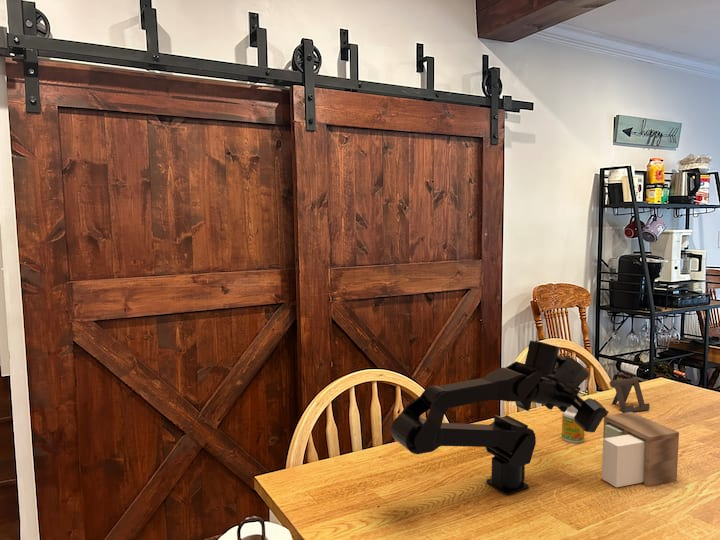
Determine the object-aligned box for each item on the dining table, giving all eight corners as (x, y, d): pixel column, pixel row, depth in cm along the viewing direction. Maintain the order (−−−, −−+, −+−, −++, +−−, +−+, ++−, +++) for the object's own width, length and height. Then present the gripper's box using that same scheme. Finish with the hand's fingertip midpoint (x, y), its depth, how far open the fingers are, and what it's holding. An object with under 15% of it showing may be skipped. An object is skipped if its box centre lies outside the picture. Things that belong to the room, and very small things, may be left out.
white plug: (616, 487, 111) (617, 446, 111) (601, 478, 115) (603, 438, 115) (660, 478, 115) (662, 438, 114) (644, 470, 119) (646, 431, 118)
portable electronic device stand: (624, 414, 154) (625, 386, 154) (605, 405, 162) (606, 378, 161) (649, 411, 157) (650, 383, 156) (629, 402, 164) (631, 376, 163)
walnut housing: (644, 487, 112) (646, 437, 111) (599, 461, 124) (600, 416, 123) (676, 480, 115) (679, 432, 114) (629, 455, 127) (631, 411, 126)
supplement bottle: (560, 441, 136) (561, 404, 135) (563, 433, 140) (564, 398, 140) (583, 445, 133) (584, 407, 132) (585, 437, 138) (586, 401, 137)
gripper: (592, 384, 105) (642, 395, 112) (535, 338, 122) (581, 350, 128) (565, 429, 108) (616, 438, 115) (513, 379, 124) (560, 389, 131)
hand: (592, 401), depth 122 cm, fingers open, 9 cm apart
